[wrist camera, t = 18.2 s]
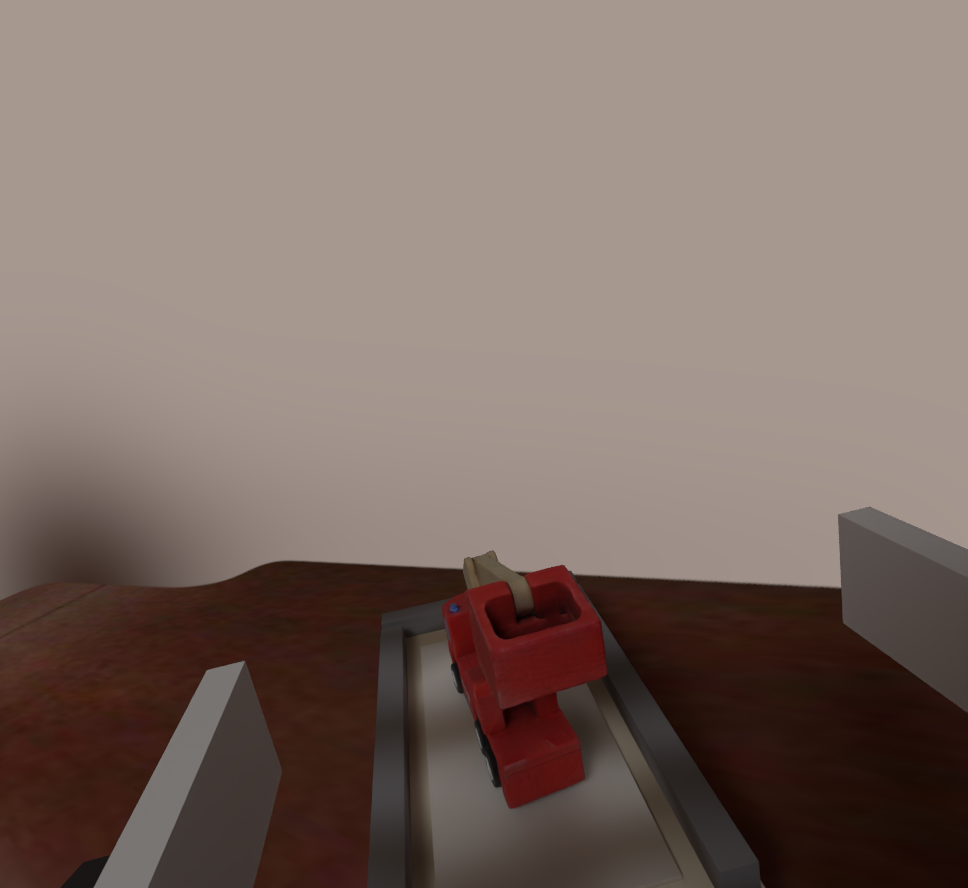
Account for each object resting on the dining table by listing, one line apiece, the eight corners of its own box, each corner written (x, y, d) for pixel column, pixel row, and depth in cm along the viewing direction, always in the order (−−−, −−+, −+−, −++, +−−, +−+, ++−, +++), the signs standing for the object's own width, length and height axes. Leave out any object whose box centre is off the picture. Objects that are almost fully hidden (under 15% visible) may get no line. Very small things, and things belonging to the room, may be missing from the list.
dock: (773, 966, 19) (765, 859, 18) (388, 1082, 17) (355, 976, 16) (582, 628, 38) (573, 568, 37) (393, 673, 37) (378, 613, 36)
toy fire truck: (509, 649, 32) (476, 476, 29) (641, 879, 19) (603, 601, 16) (447, 668, 31) (409, 492, 28) (541, 922, 18) (485, 638, 16)
